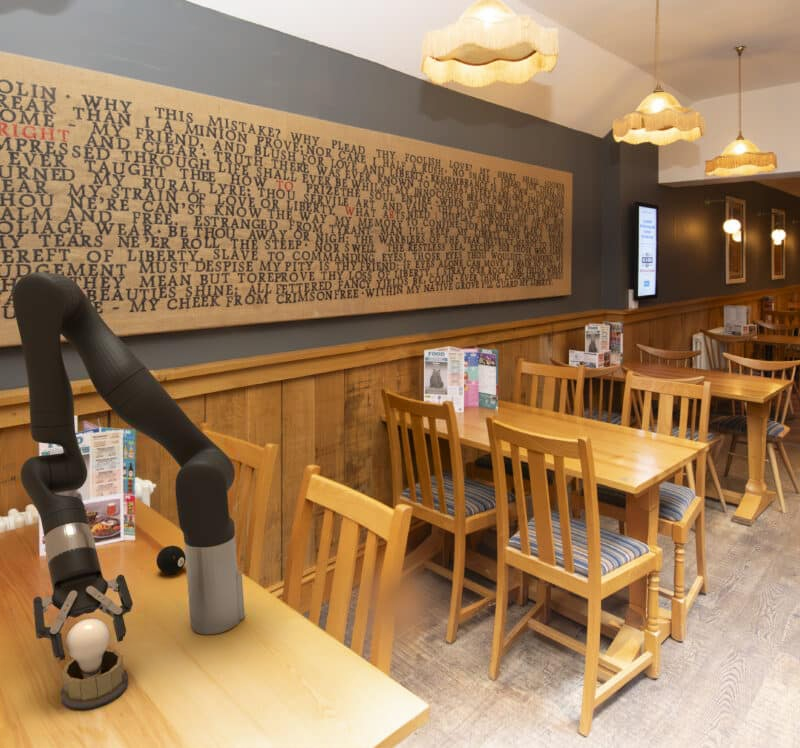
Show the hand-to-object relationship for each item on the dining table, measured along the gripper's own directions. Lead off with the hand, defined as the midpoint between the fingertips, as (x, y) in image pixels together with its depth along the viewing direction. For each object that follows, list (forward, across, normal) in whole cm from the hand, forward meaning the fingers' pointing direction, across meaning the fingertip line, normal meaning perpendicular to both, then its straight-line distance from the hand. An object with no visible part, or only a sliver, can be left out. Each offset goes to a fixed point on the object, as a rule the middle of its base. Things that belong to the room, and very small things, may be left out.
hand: (92, 649), depth 104 cm
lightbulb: (+4, 0, +6) cm, 7 cm away
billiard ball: (-20, +22, +31) cm, 43 cm away
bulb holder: (+5, 0, +6) cm, 8 cm away
